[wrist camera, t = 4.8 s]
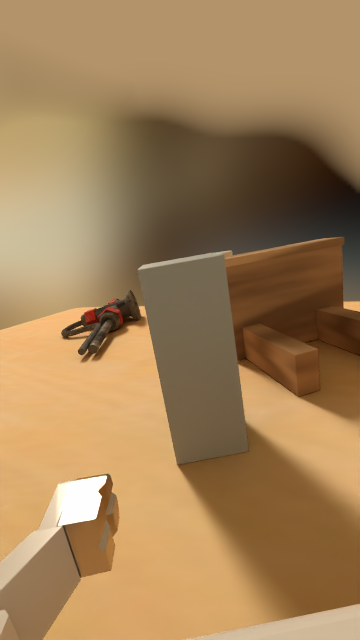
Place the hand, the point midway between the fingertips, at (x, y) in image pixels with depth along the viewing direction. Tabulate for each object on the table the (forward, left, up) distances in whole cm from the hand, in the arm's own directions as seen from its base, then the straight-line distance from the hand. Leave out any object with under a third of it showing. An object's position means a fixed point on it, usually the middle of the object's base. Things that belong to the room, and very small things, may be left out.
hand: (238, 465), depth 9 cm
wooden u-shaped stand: (+22, +1, -6) cm, 22 cm away
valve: (+27, +38, -6) cm, 47 cm away
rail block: (+8, +6, -6) cm, 11 cm away
